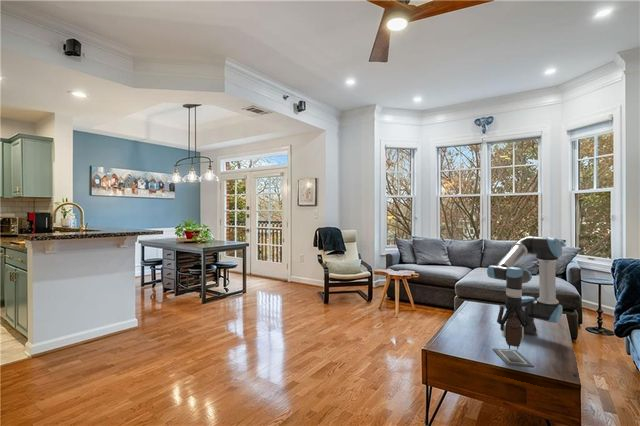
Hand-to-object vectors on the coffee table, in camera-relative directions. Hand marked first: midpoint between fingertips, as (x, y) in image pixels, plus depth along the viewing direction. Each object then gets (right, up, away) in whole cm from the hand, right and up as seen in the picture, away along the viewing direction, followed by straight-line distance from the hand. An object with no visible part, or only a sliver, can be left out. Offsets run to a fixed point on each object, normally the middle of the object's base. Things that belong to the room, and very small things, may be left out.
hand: (512, 337), depth 183 cm
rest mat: (0, -11, 0) cm, 11 cm away
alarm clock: (0, -6, 0) cm, 6 cm away
